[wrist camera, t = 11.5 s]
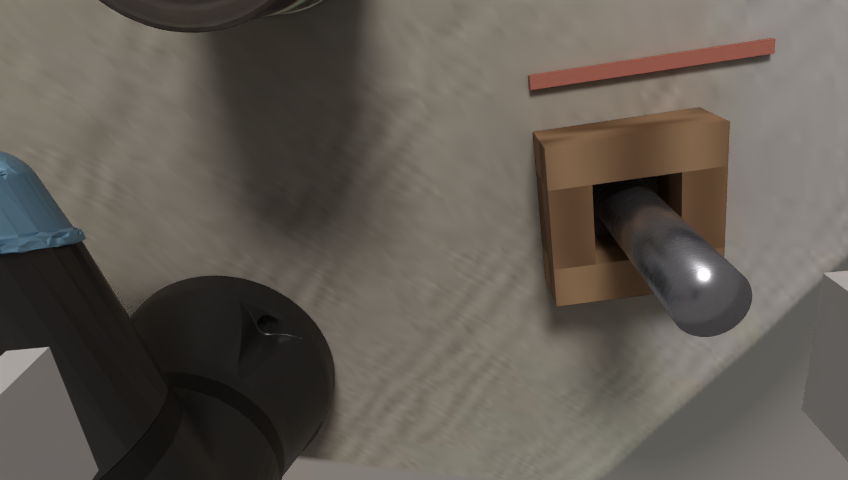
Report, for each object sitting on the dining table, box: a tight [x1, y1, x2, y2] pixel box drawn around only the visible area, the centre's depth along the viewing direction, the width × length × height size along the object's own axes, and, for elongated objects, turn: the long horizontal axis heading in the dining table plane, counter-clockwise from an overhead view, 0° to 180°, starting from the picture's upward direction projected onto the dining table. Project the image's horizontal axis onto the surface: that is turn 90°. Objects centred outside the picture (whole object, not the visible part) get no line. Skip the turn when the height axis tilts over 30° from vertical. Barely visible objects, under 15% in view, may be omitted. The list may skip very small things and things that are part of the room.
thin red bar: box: [528, 38, 775, 90], centre depth 36 cm, size 14×1×1 cm, turn 99°
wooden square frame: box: [533, 107, 730, 306], centre depth 37 cm, size 10×10×4 cm
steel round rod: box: [593, 178, 752, 337], centre depth 33 cm, size 3×3×14 cm
